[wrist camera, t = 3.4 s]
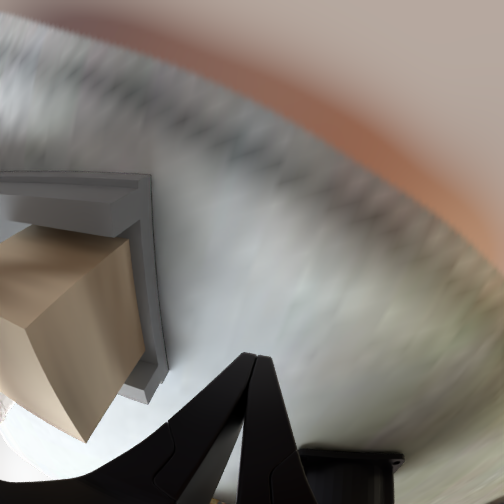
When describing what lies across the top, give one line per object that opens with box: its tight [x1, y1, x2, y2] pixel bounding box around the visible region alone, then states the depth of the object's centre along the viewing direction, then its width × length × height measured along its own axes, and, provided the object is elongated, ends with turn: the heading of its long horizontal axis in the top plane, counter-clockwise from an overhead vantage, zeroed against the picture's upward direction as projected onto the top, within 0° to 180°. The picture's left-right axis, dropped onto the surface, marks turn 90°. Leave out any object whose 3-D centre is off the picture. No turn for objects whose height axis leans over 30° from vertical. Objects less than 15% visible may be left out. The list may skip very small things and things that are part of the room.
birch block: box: [0, 224, 145, 443], centre depth 9 cm, size 5×5×5 cm
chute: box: [0, 171, 169, 405], centre depth 11 cm, size 15×9×3 cm, turn 86°
